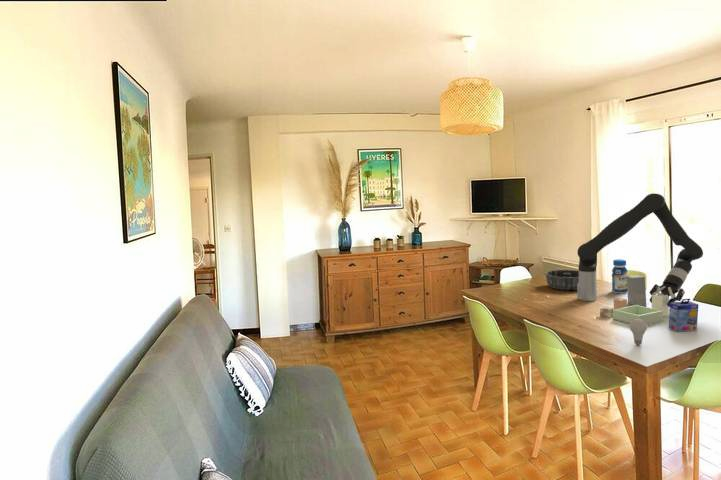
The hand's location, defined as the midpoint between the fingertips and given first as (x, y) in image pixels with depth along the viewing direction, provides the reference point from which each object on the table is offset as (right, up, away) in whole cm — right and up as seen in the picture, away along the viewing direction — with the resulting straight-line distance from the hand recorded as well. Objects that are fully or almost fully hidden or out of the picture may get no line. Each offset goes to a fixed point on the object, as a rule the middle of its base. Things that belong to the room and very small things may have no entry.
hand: (659, 304), depth 214 cm
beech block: (-24, -7, +4) cm, 25 cm away
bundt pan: (-12, 0, +71) cm, 72 cm away
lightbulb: (-35, -12, -37) cm, 52 cm away
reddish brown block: (-14, -6, +9) cm, 18 cm away
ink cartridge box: (-5, -8, -21) cm, 24 cm away
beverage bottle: (+11, 0, +52) cm, 53 cm away
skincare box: (+3, -4, +23) cm, 23 cm away
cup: (+1, -6, +1) cm, 6 cm away
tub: (-14, -7, -5) cm, 17 cm away
